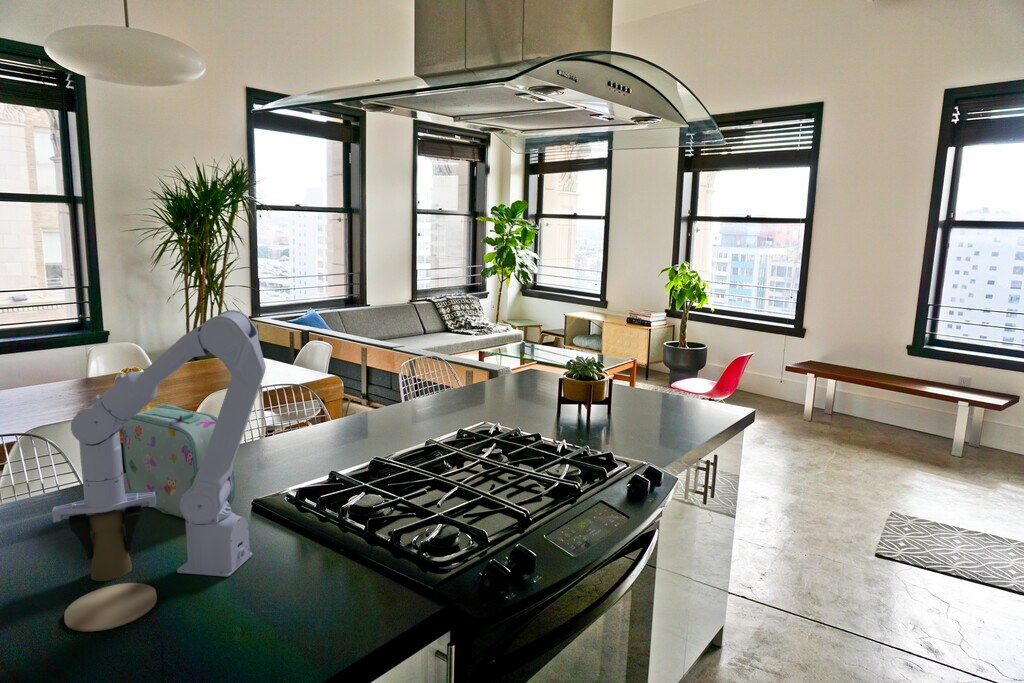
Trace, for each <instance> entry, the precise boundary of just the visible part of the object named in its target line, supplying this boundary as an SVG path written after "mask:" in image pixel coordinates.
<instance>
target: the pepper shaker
mask: <svg viewBox="0 0 1024 683" xmlns="http://www.w3.org/2000/svg"><path fill="white" fill-rule="evenodd" d="M124 512H125V511H124V510H112V511H108V512H101V513H96V514H93V515H90V518H89V527H90V529H91V532H93V533H92V535H93V537H92V543H93V549H92V554H93V558H92V559H91V567H90V578H91V579H92V580H93V581H96V582H107V581H113V580H117V579H119V578H122V577H124V576H127V574H129V573H130V572H131V571H132V570H133V564H132V560H131V556H130V552H126V535H125V533H124V532H125V531H124V529H123V526H125V521H124Z"/></svg>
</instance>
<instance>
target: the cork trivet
mask: <svg viewBox="0 0 1024 683" xmlns="http://www.w3.org/2000/svg"><path fill="white" fill-rule="evenodd" d="M157 596H158V595H157V590H156V588H154V587H153V586H151V585H149V584H145V583H139V582H127V583H125V582H124V583H118V584H114V585H113V584H112V585H108V586H104V587H101V588H98V589H96V590H93V591H90V592H89V593H86V594H84V595H83V596H80V597H79V598H77V599H75V600H74V601H73V602H72V603H70V605H68V606H67V608H66V609H65V611H64V613H63V615H64V616H63V617H64V623H65V625H66V626H67V627H68V629H71V630H73V631H77V632H99V631H105V630H106V631H107V630H110V629H114V628H117V627H122V626H125V625H127V624H129V623H131V622H134V621H136V620H138V619H139V618H141V617H143V616H144V615H146V614H147V613H149V612H150V611H151V610H152V608H154V607H155V605H156V603H157V599H158V597H157Z"/></svg>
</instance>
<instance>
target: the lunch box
mask: <svg viewBox="0 0 1024 683" xmlns="http://www.w3.org/2000/svg"><path fill="white" fill-rule="evenodd" d="M217 419H218V417H217V416H215V415H212V414H211V413H206V412H200V411H193V410H188V409H184V408H181V407H178V406H176V405H173V404H160V405H158V406H155V407H153V408H150V409H146V410H144V411H139V412H138V413H137V414H136V415H134V416H133V417H132V418H131V419H130V420H129V421H127V422H126V423H124V425H123V427H122V446H123V448H122V449H123V459H124V469H125V473H126V481H127V484H128V486H127V487H128V489H129V491H130V493H149V492H155V497H156V506H154V507H152V508H154V509H155V510H158V511H160V512H161V513H162V514H165V515H173V516H176V517H178V518H181V519H184V520H185V517H184V516H183V515H182V513H181V510H180V501H181V498H182V497H183V495H184V494H185V493H186V492H187V491H188V490H189V489H190V488H191V486H192V485H193V482H194V479H195V477H196V475H197V473H198V471H199V469H200V467H201V465H202V462H203V460H204V457H205V454H206V451H207V448H208V445H209V442H210V439H211V436H212V433H213V430H214V427H215V424H216V422H217ZM231 481H232V491H231V493H230V495H229V496H228V498H227V502H228V503H229V505H230V506H231V505H232V503H233V501H234V498H235V489H236V488H235V487H236V486H235V484H236V483H235V474H234V470H233V471H232V474H231Z"/></svg>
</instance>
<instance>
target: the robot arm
mask: <svg viewBox="0 0 1024 683" xmlns="http://www.w3.org/2000/svg"><path fill="white" fill-rule="evenodd" d="M209 354H212V355H213V356H214V357H216V358H218V360H220V361H221V362H222V363H223V364H224V366H225V368H227V370H228V371H229V373H230V374H231V378H230V382H229V384H228V386H227V390H226V393H225V396H224V399H223V401H222V404H221V407H220V410H219V414H218V417H217V418H218V419H217V422H216V424H215V427H214V430H213V433H212V436H211V439H210V442H209V445H208V448H207V451H206V454H205V457H204V460H203V462H202V465H201V467H200V469H199V471H198V473H197V475H196V477H195V479H194V482H193V485H192V486H191V488H190V489H189V490H188V491H187V492H186V493H185V494H184V495H183V497H182V498H181V501H180V510H181V513H182V515H183V516H184V517H185V519H184V520H185V533H186V534H185V535H186V537H185V538H186V549H187V550H186V551H187V561H186V562H185V563H183V564H182V565H181V566H180V567H178V568H177V569H176V572H177V573H179V574H189V575H190V574H191V575H200V576H201V575H203V576H213V577H214V576H216V577H227V578H228V577H230V576H231V575H233V574H234V572H236V571H237V570H238V569H239V568H240V567H241V566H242V565H243V564H245V562H246V561H248V560H249V559H250V558H251V557H252V556H253V552H251V550H250V548H251V547H250V546H251V545H250V532H249V523H248V519H247V518H246V517H244V516H241V515H238V514H236V513H234V512H233V511H232V507H231V505H229V503H228V502H227V498H228V496H229V495H230V493H231V491H232V481H231V474H232V471H233V472H234V463H235V460H236V457H237V454H238V451H239V449H240V448H239V447H240V445H241V442H242V439H243V437H244V433H245V430H246V429H247V428H246V427H247V425H248V423H249V418H250V416H251V414H252V412H253V411H252V410H253V408H254V405H255V402H256V400H257V399H256V398H257V396H258V394H259V391H260V387H261V385H262V381H263V378H264V377H265V376H264V375H265V373H266V368H267V367H266V362H265V360H264V355H263V351H262V346H261V344H260V340H259V331H258V329H257V327H256V325H254V322H252V320H251V319H250V318H249V317H248V316H247V315H246V314H245V313H243V312H241V311H239V310H235V309H229V310H225V311H223V312H220V313H219V314H218V315H216V316H213V317H210V318H209V319H207V320H206V321H205V322H204V323H203V324H201V325H199V326H197V327H195V328H194V329H192V330H190V331H189V332H187V333H186V334H184V335H183V336H181V337H180V338H179V339H178V340H177V341H175V343H173V344H172V345H171V346H170V347H169V348H168V349H166V351H165V352H163V353H162V354H161V355H160V356H159V357H157V359H155V361H153V362H152V363H151V364H150V365H148V367H146V368H145V369H144V370H143V371H130V372H127V373H126V374H125V373H121V374H119V375H118V376H117V377H115V378H114V380H113V381H114V382H115V383H114V384H113V385H112V386H110V388H108V389H107V390H106V391H105V392H104V393H103V394H97V395H96V396H94V397H93V398H92V399H91V401H92V403H93V404H91V405H89V406H88V407H86V408H82V409H80V410H79V411H78V412H77V414H76V415H75V416H74V417H73V419H72V421H71V422H70V430H71V433H72V435H73V437H74V438H75V439H76V440H77V441H78V443H79V444H78V445H79V456H80V466H81V475H82V476H81V478H82V486H83V498H84V499H82V500H78V501H74V502H70V503H67V504H63V505H62V504H61V505H55V506H53V508H52V510H51V513H52V514H51V515H52V522H53V523H56V522H57V523H58V522H61V521H62V520H67V519H68V522H69V523H68V527H69V530H70V531H71V532H72V533H73V534H74V535H75V536H76V537H77V539H78V541H79V542H80V544H81V546H82V547H83V549H84V552H85V555H86V557H87V560H92V558H93V554H92V549H93V537H92V531H91V529H90V527H89V518H90V516H91V515H93V514H96V513H101V512H108V511H112V510H122V511H123V512H124V521H125V522H124V528H125V540H126V552H129V553H130V552H132V548H133V544H132V543H133V539H134V538H133V537H134V534H135V531H136V529H137V525H138V523H139V520H140V518H141V517H142V516H141V515H142V510H143V509H142V508H143V507H144V508H145V507H149V508H153V507H154V506H156V497H155V492H149V493H131V492H130V493H126V491H125V480H124V479H125V477H124V467H123V456H122V455H123V454H122V446H121V438H120V437H121V434H120V432H121V431H120V430H121V429H123V425H124V423H126V422H127V421H129V420H130V419H131V418H132V417H133V416H134V415H136V414H137V413H139V412H141V411H142V410H143V409H144V408H145V407H146V406H148V405H149V404H150V403H152V401H154V400H155V399H156V398H157V397H158V389H159V388H158V386H159V384H161V383H162V382H163V381H165V380H166V379H167V378H169V376H172V374H174V373H175V372H176V371H177V370H178V369H180V368H181V367H182V366H183V365H185V364H186V363H187V362H188V361H190V360H191V359H193V358H195V357H204V356H206V355H209Z"/></svg>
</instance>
